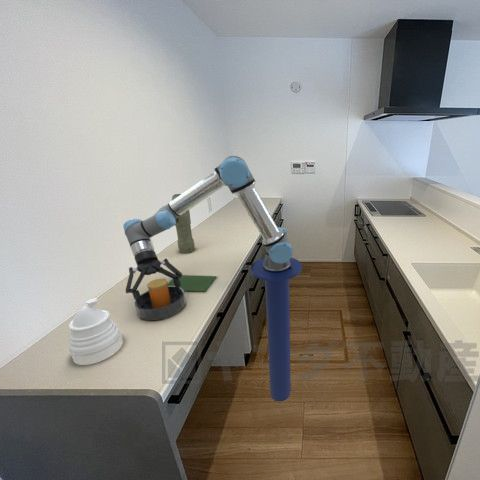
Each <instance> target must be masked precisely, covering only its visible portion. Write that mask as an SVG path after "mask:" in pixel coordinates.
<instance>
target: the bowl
mask: <svg viewBox="0 0 480 480" xmlns="http://www.w3.org/2000/svg"><path fill="white" fill-rule="evenodd" d="M168 289H169V294H170V299H171V304H170V305H167V306H164V307H161V308H155V309H153V307H152V302H151V298H150V294H149V290H147V291H145V292H143V293H142V294H141V293H140V296H141V298H142V301H143V304H144V307H143V308H141V305H140V303H139V300H134V308H135V311H136V315H137V317H138V318H140V319H142V320H145V321H158V320H162V319H166V318H169V317H171V316H173V315H176V314H177V313H179V312H180V311H181V310H183V308H184V307H185V306H186V304H187V300H186V292H185V291H184V290H183V289H182V288H180V290H181V295H178V292H177V290H176V287H175V286H168Z"/></svg>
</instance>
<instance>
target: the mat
mask: <svg viewBox="0 0 480 480" xmlns="http://www.w3.org/2000/svg"><path fill="white" fill-rule="evenodd" d="M216 279H217V276H215V275H185V274H182V276H181V277H180V278H179V280H180V283H181V286H179V287H180V288H182V289H183V290H184V293H186V292H187V293H188V292H189V293H190V292H191V293H206V292H207V291H208V289H209V288H210V286H211V285H212V284H213V283H214V281H215V280H216ZM173 280H174V279H172V278H171V280H170V281H169V282H168V286H175V285H174V282H173Z"/></svg>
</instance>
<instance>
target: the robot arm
mask: <svg viewBox="0 0 480 480" xmlns="http://www.w3.org/2000/svg"><path fill="white" fill-rule="evenodd" d="M255 184H256V179H255V178H254V175H253V174H252V172H251V170H250V169H249V166H248V164H247V162H246V161H245V160H244V159H243V158H242V157H240V156H237V155H230V156H228V157H226V158H225V159H224V160H223V161H222V162H221V163H220V164H219V165H218V166H216V167H214V169H213V172H211V173H210V174H209V175H207V176H206V177H204V178H203V179H201V180H200V181H199V182H197V183H196V184H194V185H193V186H192V187H190V188H189V189H187V190H186V191H184V192H183V193H180V194H181V195H180V196H178V197H177V198H175V199H174V200H173V201H172V200H171V201H170V202H168V203H167V204H165V205H163V206H162V207H160V208H159V209H158V210H157V211H156V212H155V213H154V214H153V215H151V216H149V217H148V218H145V219H144V220H143V219H140V218H132V219H129V220H127V221H125V222H124V223H123V225H122V226H123V227H122V228H123V231H124V235H125V237H126V239H127V241H128V244H129V247H130V251H131V252H132V255H133V257H134V261H135V264H136V267H133V266H131V267H128V273H129V275H128V279H127V283H126V287H125V294H132V297H133V299H134V301H136V300H139V303H140V305H141V308H143V307H144V304H143V301H142V298H141V296H140V295H141V293H140V290H139V286H140V285H141V283H142V281H143V279H144V278H145V276H150V275H155V274H157V273H159V274H162V275H164V276H166V277H168V278H169V279H171V280H172V279H174V280H173V282H174V285H175V287H176V290H177V292H178V295H181V290H180V287H179V286H181V283H180V280H179V278H180V277H181V276H182V275H183V273H182V272H181V271H180V270H179V269H177V268H176V266H174V265H172V264H171V262H169V259H168V258H164V259H163V260H159V258H158V256H157V254H156V251H155V249H154V246H153V243H152V241H151V238H153V237H155V236H157V235H159V234H160V233H162V232H163V233H164V232H165V231H167V230H170V229H171V228H173V227H174V226H175V224H176V222H175V221H176V220H175V219H177V218H178V217H180V216H181V215H182V214H184V213H185V212H187V211H188V210H189V211H190V210H191V209H193V208H195V206H197V205H198V204H200V203H201V202H203V201H204V200H205V199H207V198H208V197H210V196H212V195H213V194H214V193H216V192H218V191H219V190H220V189H222V188H223V187H228V189H229V191H230V193H231V194H232V195H236V196H237V197H238V199H239V201H240V203H241V204H242V205H243V207H244V209H245V210H246V212H247V214H248V215H249V217H250V219H251V220H252V223H253V224H254V226H255V227H256V229H257V230H258V232H259V235H261V237H262V240H261V244H262V245H263V247H264V248H265V255H264V257H263V258H264V263H263V268H264V269H265V270H266V271H268V272H283V271H286V270H288V269H289V268H292V267H290V261H289V259H290V258H293V254H294V250H293V249H294V248H293V246H292V244H291V243H290V240H289V239H288V235H287V234H288V231H287V228H286V227H283V226H277V224H276V222H275V220H274V218H273V217H272V216H271V215H272V214H271V213H270V211H269V210H268V208H267V205H266V204H265V203H264V201H263V199H262V197H261V195H260V193H259V191H258V189H257V188H256V186H255ZM161 265H163V266H165V267H166V268H167V269H168V270H167V269H165V268H163V267H162V266H161ZM137 271H138V272H139V273H140V274H139V276H138V278H137V279H136V281H135V282H134V284H133V287H132V283H133V279H134V274H136V273H137Z"/></svg>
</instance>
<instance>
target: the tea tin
mask: <svg viewBox="0 0 480 480" xmlns="http://www.w3.org/2000/svg"><path fill="white" fill-rule="evenodd" d="M168 283H169V282H168V279H166V278H155V279H152V280H150V281H149V282H148V283H147V284H146V285H147V286H146V287H147V289H148V291H149V294H150V298H151V302H152V307H153V309H155V308H161V307H164V306H167V305H170V304H171V299H170V294H169V289H168Z"/></svg>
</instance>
